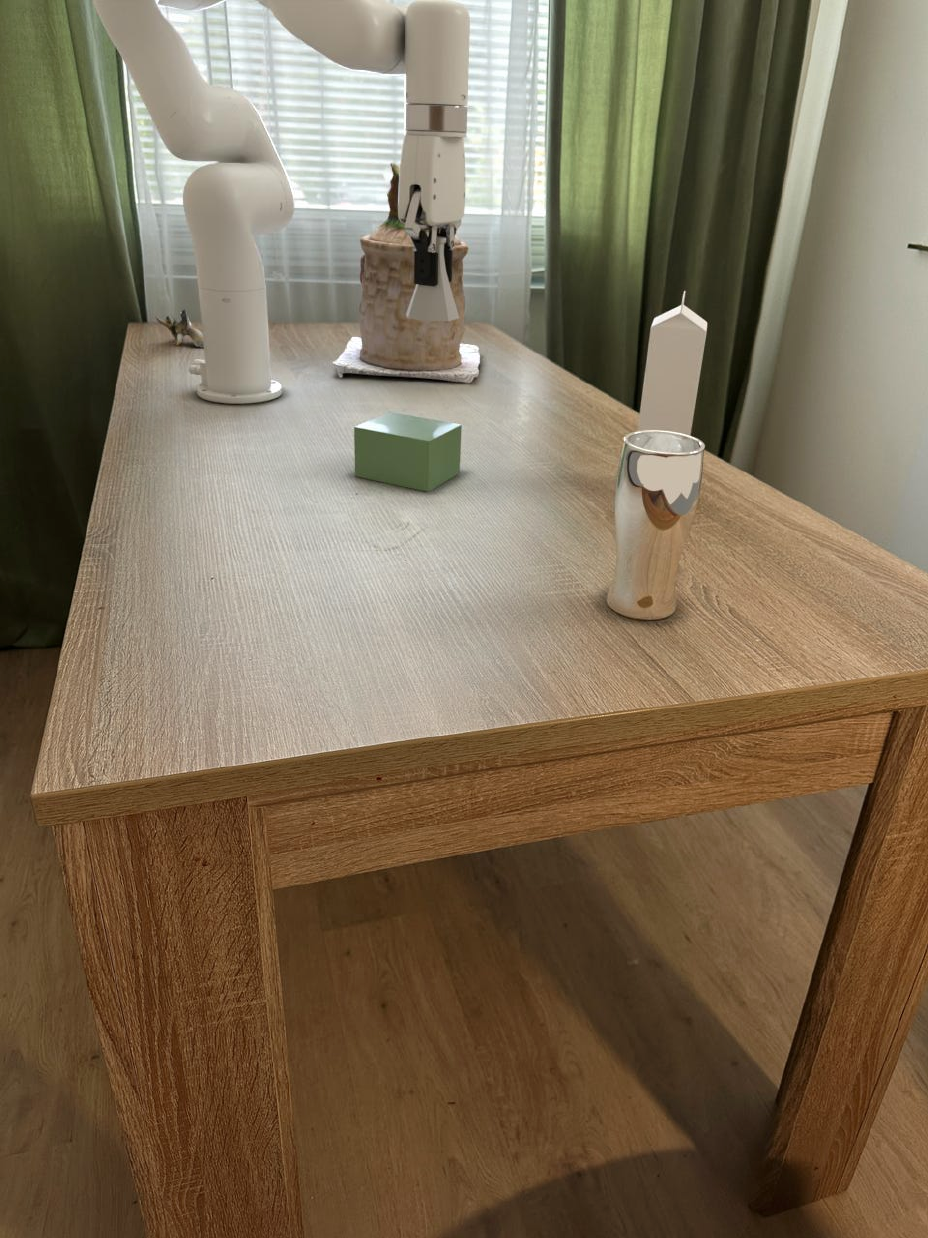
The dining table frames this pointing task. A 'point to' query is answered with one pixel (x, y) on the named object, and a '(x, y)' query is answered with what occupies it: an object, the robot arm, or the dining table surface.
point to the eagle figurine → (183, 329)
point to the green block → (407, 451)
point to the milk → (672, 371)
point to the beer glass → (653, 519)
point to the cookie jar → (384, 305)
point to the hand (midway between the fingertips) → (433, 281)
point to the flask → (434, 295)
